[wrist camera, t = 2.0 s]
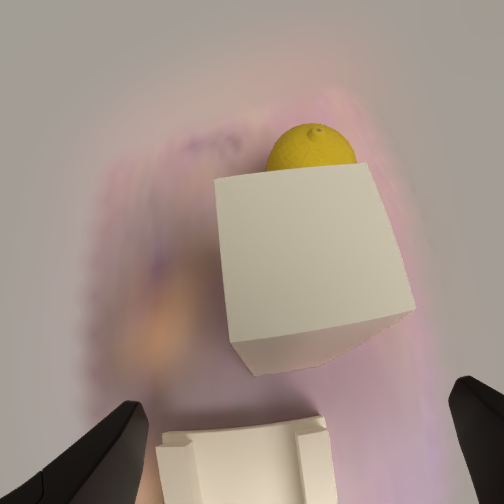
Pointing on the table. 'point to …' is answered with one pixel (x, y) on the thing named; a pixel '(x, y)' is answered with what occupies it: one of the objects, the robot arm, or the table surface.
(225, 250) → the clay bar
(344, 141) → the lemon
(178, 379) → the table surface
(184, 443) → the rack
